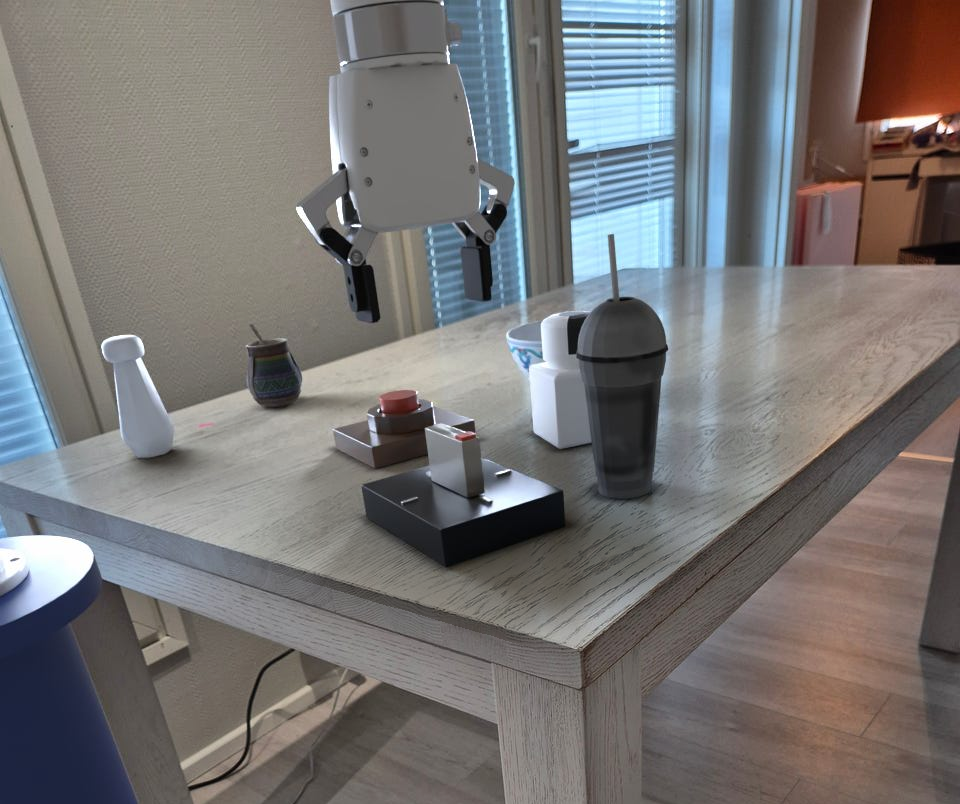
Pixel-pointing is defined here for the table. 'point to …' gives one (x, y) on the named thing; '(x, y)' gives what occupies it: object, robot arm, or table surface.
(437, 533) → the panel
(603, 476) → the beverage cup
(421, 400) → the button box
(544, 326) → the medicine bottle
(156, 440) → the salt shaker
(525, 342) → the chinaware
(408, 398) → the button
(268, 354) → the mate gourd
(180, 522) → the table surface
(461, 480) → the brushed metal brick
